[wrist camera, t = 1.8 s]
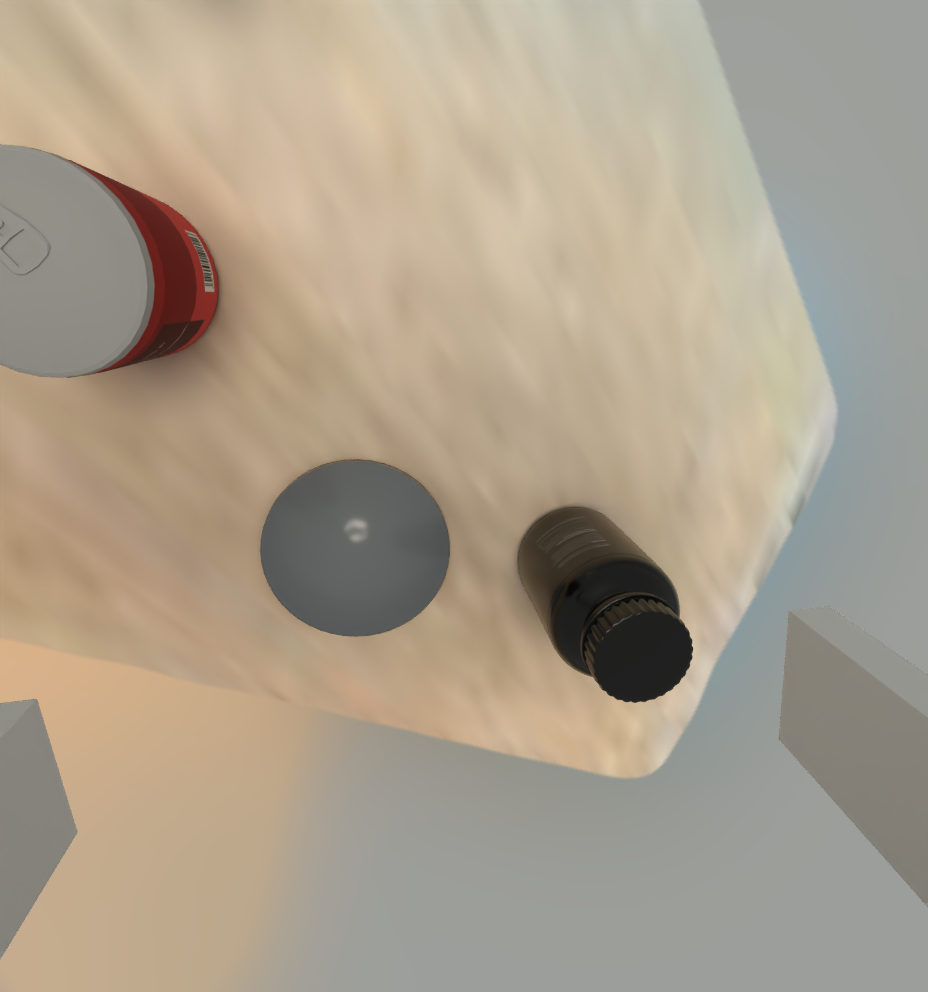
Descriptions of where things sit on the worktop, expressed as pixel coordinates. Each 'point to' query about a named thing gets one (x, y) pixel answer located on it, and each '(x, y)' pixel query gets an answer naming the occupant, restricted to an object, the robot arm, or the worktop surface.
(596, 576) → the supplement bottle
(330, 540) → the coaster
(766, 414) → the worktop surface
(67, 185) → the canned food
